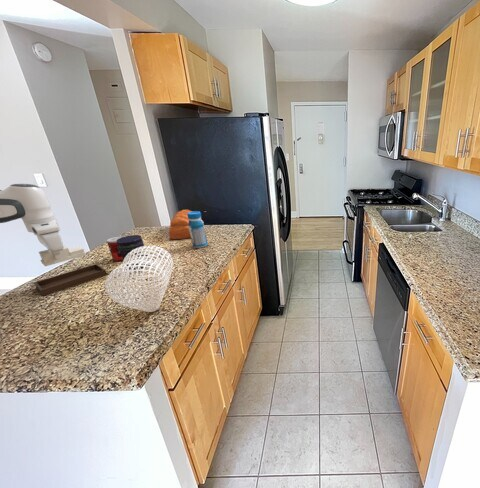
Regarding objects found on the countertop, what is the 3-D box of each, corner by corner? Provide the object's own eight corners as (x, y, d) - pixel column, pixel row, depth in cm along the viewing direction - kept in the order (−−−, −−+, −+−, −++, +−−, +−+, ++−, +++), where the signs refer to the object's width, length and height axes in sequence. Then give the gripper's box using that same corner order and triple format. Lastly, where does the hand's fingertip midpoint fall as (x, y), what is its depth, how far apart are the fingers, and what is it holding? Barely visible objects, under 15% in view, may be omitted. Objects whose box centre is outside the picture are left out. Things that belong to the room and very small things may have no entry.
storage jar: (144, 260, 133) (136, 233, 128) (153, 265, 128) (145, 237, 122) (122, 268, 126) (112, 239, 120) (130, 273, 121) (120, 244, 115)
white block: (45, 266, 104) (39, 255, 103) (41, 263, 107) (36, 252, 105) (86, 255, 114) (81, 244, 112) (81, 252, 117) (77, 242, 115)
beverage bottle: (200, 249, 147) (194, 215, 140) (189, 247, 150) (181, 213, 142) (211, 243, 155) (205, 211, 147) (200, 242, 157) (193, 210, 150)
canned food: (119, 255, 139) (112, 236, 135) (134, 254, 140) (128, 235, 136) (109, 261, 132) (102, 241, 128) (126, 261, 133) (119, 241, 129)
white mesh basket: (170, 330, 85) (152, 269, 76) (113, 341, 80) (88, 278, 72) (184, 287, 109) (172, 238, 101) (141, 293, 105) (125, 243, 96)
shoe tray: (43, 296, 104) (40, 290, 103) (36, 287, 110) (34, 282, 109) (107, 274, 120) (105, 269, 119) (98, 268, 126) (96, 263, 125)
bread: (200, 223, 192) (197, 206, 187) (196, 237, 164) (191, 217, 159) (177, 225, 187) (173, 208, 182) (168, 240, 160) (163, 220, 155)
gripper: (25, 222, 106) (39, 253, 111) (37, 231, 96) (52, 265, 101) (46, 218, 111) (59, 248, 116) (60, 227, 100) (73, 259, 106)
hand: (56, 256), depth 108 cm, fingers closed on white block, 5 cm apart
